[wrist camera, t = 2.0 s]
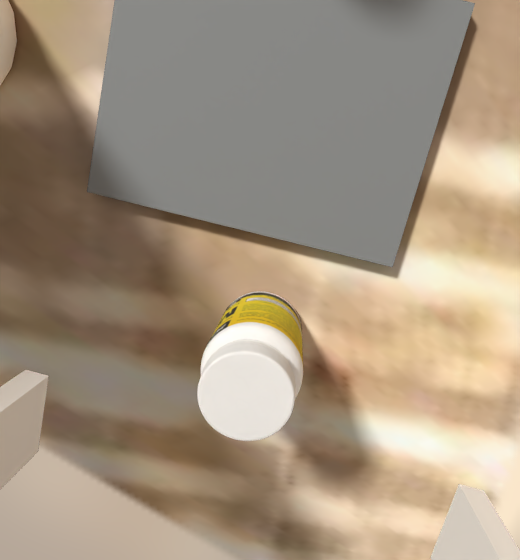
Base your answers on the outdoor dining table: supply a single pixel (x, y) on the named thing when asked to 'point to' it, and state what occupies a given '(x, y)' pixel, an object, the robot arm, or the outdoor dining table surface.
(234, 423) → the supplement bottle
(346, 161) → the slate mat
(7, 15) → the bottle
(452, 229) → the outdoor dining table surface
